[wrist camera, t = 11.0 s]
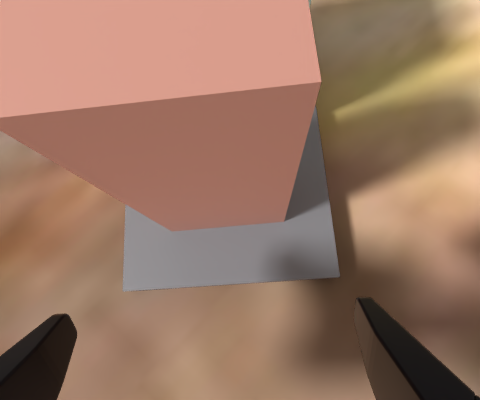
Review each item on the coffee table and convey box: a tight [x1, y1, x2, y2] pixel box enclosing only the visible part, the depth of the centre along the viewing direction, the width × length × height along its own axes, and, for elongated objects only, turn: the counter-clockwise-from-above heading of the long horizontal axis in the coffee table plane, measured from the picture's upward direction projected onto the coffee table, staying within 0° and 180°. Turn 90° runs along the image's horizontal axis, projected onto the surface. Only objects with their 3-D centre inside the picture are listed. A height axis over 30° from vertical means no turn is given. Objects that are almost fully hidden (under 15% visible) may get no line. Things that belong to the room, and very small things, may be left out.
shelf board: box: [123, 104, 340, 291], centre depth 21 cm, size 18×12×2 cm, turn 4°
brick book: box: [0, 0, 321, 232], centre depth 13 cm, size 4×6×13 cm, turn 94°
